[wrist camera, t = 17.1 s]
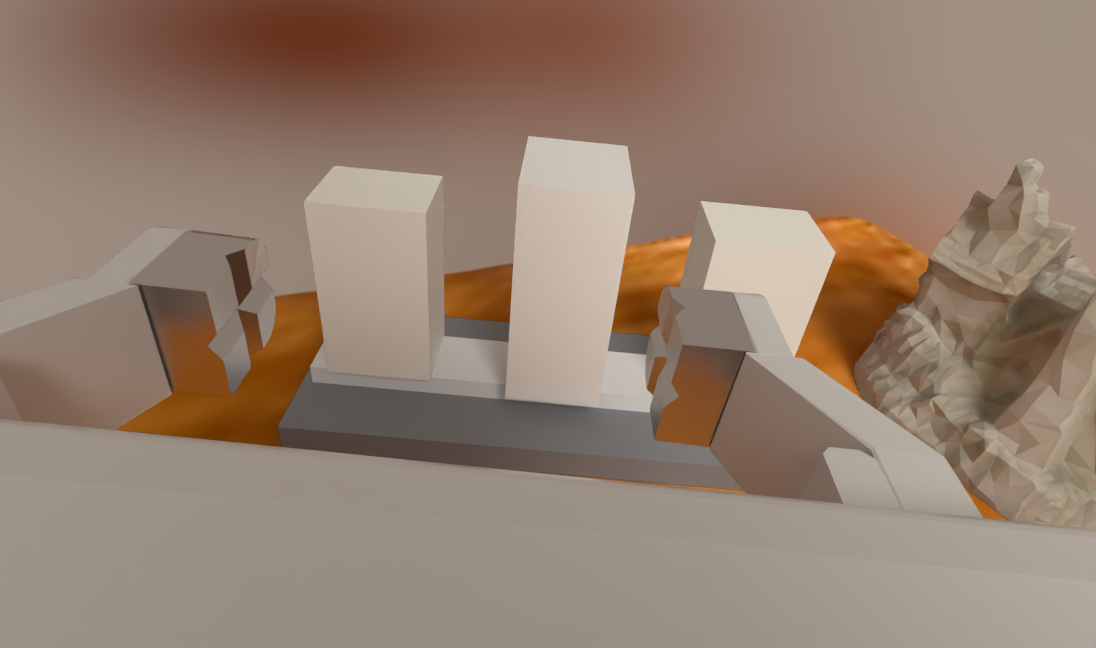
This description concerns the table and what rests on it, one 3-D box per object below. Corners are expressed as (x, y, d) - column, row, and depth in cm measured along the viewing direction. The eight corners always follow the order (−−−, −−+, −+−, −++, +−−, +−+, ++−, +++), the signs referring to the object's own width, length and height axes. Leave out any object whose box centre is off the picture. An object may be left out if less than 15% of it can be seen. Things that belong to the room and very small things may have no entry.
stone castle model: (1039, 567, 28) (1291, 265, 20) (799, 355, 41) (897, 120, 33) (1231, 506, 34) (1488, 250, 26) (968, 336, 46) (1086, 131, 38)
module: (505, 398, 30) (518, 183, 24) (515, 330, 35) (528, 135, 29) (597, 406, 31) (635, 194, 24) (595, 338, 35) (627, 145, 29)
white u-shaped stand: (282, 449, 30) (233, 231, 23) (346, 327, 38) (323, 140, 32) (804, 495, 30) (901, 294, 24) (756, 365, 39) (818, 188, 32)
